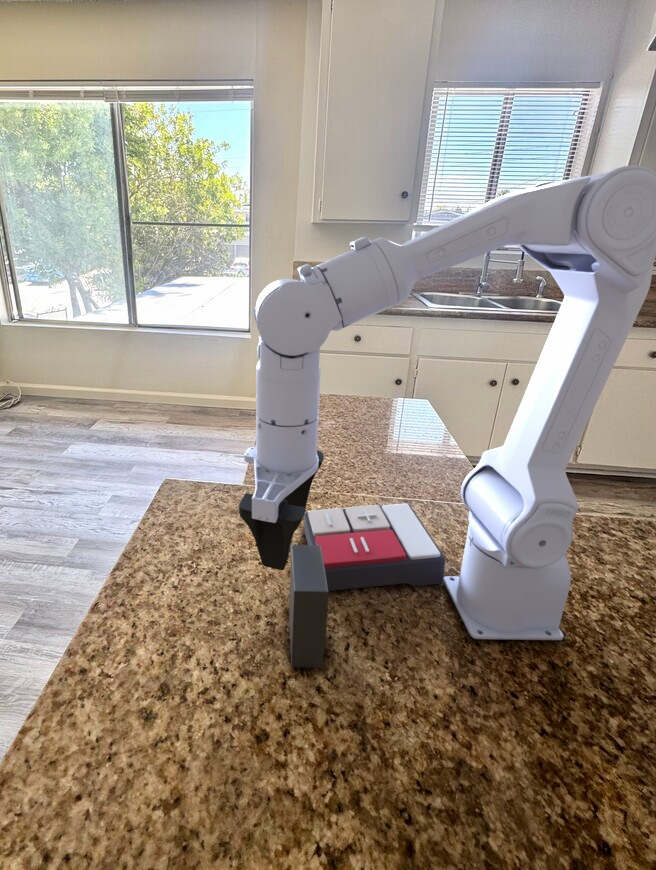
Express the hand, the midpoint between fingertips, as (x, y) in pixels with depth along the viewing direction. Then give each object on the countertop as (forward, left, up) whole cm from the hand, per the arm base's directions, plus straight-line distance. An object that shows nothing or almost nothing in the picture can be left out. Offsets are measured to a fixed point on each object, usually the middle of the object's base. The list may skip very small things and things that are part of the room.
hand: (284, 538), depth 42 cm
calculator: (-11, -9, -10) cm, 18 cm away
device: (-2, +3, -10) cm, 11 cm away
